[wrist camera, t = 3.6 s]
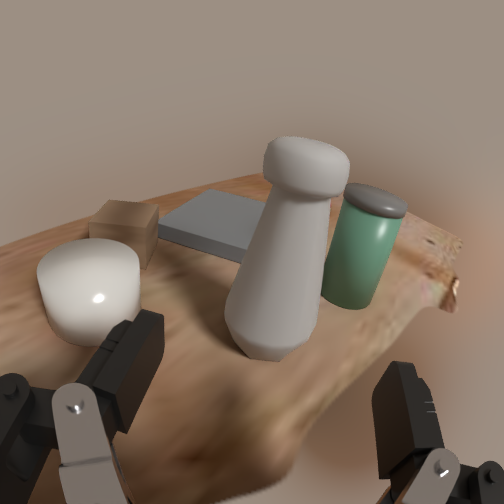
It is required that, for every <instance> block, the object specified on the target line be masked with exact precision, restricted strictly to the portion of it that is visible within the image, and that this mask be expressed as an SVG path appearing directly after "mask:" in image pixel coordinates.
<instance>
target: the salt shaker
mask: <svg viewBox="0 0 504 504" xmlns="http://www.w3.org/2000/svg"><path fill="white" fill-rule="evenodd" d="M349 167H350V162H349V160H348V158H347V156H346V155H345V154H344V153H343V152H342V151H341V150H339V149H338V148H336V147H334V146H332V145H329V144H326V143H323V142H320V141H316V140H312V139H307V138H302V137H293V136H289V137H279V138H276V139H274V140H273V141H271V142H270V143H269V144H268V146H267V149H266V152H265V155H264V162H263V174H264V179H266V180H267V181H268V182H270V183H271V184H273V186H272V189H271V191H270V194H269V196H268V199H267V202H266V204H265V207H264V210H263V212H262V215H261V217H260V219H259V222H258V224H257V227H256V229H255V231H254V234H253V236H252V239H251V241H250V244H249V246H248V248H247V251H246V253H245V256H244V258H243V260H242V263H241V265H240V268H239V270H238V273H237V275H236V277H235V280H234V282H233V285H232V287H231V290H230V292H229V294H228V297H227V299H226V305H225V311H224V316H225V321H226V324H227V326H228V329H229V331H230V333H231V336H232V338H233V341H234V342H235V343H236V344H237V345H238V346H239V347H240V348H241V349H242V350H243V351H244V353H245V354H246V355H247V356H248V357H249V358H250V359H256V360H265V361H275V362H279V361H281V360H282V359H283V358H284V357H285V356H286V355H287V354H289V353H290V352H292V351H293V350H295V349H296V348H298V347H299V346H301V345H302V344H304V343H305V342H307V340H308V338H309V337H310V335H311V333H312V331H313V329H314V327H315V325H316V322H317V316H318V309H319V302H320V294H321V287H322V279H323V271H324V262H325V254H326V244H327V235H328V225H329V214H330V203H331V197H338V196H339V195H340V194H341V193H342V191H343V190H344V188H345V186H346V183H347V180H348V176H349Z"/></svg>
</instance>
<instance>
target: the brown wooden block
mask: <svg viewBox="0 0 504 504" xmlns="http://www.w3.org/2000/svg"><path fill="white" fill-rule="evenodd" d="M158 216H159V205H157V204H147V203H137V202H127V201H116V200H108V201H107V202H106V203H105V204H104V205H103V207H102V208H101V209H100V210H99V211H98V212H97V213H96V214H95V215H94V216H93V217H92V218H91V219H90V220H89V236H90V238H101V239H109V240H114V241H117V242H120V243H123V244H125V245H127V246H129V247H130V248H131V249H132V250H133V251H135V253H136V254H137V256H138V258H139V267H140V269H145V270H146V268H147V266H148V263H149V261H150V259H151V256H152V254H153V252H154V249H155V247H156V245H157V242H158Z"/></svg>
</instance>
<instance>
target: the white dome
mask: <svg viewBox="0 0 504 504" xmlns="http://www.w3.org/2000/svg"><path fill="white" fill-rule="evenodd" d="M37 277H38V282H39V286H40V290H41V294H42V298H43V302H44V306H45V310H46V313H47V317H48V320H49V324H50V326H51V328H52V330H53V331H54V333H55V334H56V335H57V336H58V337H60V338H61V339H63V340H64V341H66V342H69V343H71V344H74V345H78V346H87V347H93V346H100V345H101V344H102V342H103V341H104V340H105V339H106V337H107V335H108V334H109V332H110V331H111V329H112V328H113V327H114V326H116V325H117V324H119V323H120V322H122V321H123V320H125V319H126V320H129V321H132V322H133V321H134V319H135V318H136V316H137V315H138V313H139V312H140V310H141V294H140V267H139V258H138V256H137V254H136V253H135V251H133V250H132V249H131V248H130V247H129V246H127V245H125V244H123V243H120V242H117V241H114V240H109V239H101V238H88V239H80V240H75V241H71V242H67V243H65V244H62V245H60V246H58V247H56V248H54V249H52V250H51V251H49V252H48V253H47V254H46V255H45V256H44V257H43V258H42V259H41V261H40V262H39V264H38V267H37Z"/></svg>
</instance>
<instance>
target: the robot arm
mask: <svg viewBox="0 0 504 504" xmlns="http://www.w3.org/2000/svg"><path fill="white" fill-rule="evenodd" d="M164 347H165V342H164V316H163V315H162V314H159V313H155V312H152V311H148V310H144V309H142V310H140V312H139V313H138V315H137V316H136V318H135V319H134V321H133V322H132V321H129V320H126V319H125V320H123V321H122V322H120V323H119V324H117V325H116V326H114V327H113V328H112V329H111V331H110V332H109V334H108V335H107V337H106V339H105V340H104V341H103V342H102V344H101V345H100V348H98V350H97V351H96V352H95V354H94V355H93V357H92V358H91V360H90V361H89V363H88V364H87V366H86V367H85V369H84V370H83V372H82V373H81V375H80V376H79V378H78V379H77V380H76V382H74V383H69V384H66V385H63V386H61V387H60V388H59V389H57V390H49V389H42V388H36V387H30V385H29V383H28V381H27V380H26V379H25V378H24V377H23V376H21V375H19V374H16V373H9V374H5V375H3V376H1V377H0V504H27V503H28V500H29V498H30V495H31V493H32V491H33V488H34V486H35V484H36V481H37V479H38V477H39V475H40V472H41V470H42V468H43V466H44V464H45V461H46V459H47V457H48V455H49V453H50V451H51V449H52V448H53V449H59V451H60V456H61V465H60V466H59V476H60V480H61V484H62V488H63V492H64V496H65V499H66V503H67V504H136V503H135V500H134V498H133V496H132V494H131V492H130V489H129V487H128V484H127V482H126V479H125V476H124V474H123V471H122V468H121V465H120V462H119V459H118V456H117V453H116V450H115V447H114V444H113V441H112V440H113V438H114V436H115V434H116V432H117V431H120V432H122V433H125V434H127V433H128V430H129V428H130V426H131V424H132V422H133V420H134V417H135V415H136V413H137V411H138V409H139V407H140V405H141V402H142V400H143V398H144V396H145V394H146V392H147V390H148V388H149V386H150V383H151V381H152V379H153V377H154V375H155V373H156V371H157V369H158V367H159V365H160V363H161V360H162V357H163V353H164ZM372 410H373V418H374V427H375V437H376V447H377V458H378V471H379V479H390V481H391V485H390V486H389V487H388V488H387V489H386V490H385V492H384V493H383V495H382V496H381V497H380V499H379V500H378V501H377V503H376V504H504V470H503V469H502V467H501V466H500V465H499V464H498V463H496V462H494V461H487V462H485V463H483V464H482V465H481V466H479V468H475V467H470V466H466V465H463V464H460V463H459V460H458V458H457V457H456V455H455V454H454V453H453V452H451V451H450V450H447V449H445V447H444V443H443V439H442V435H441V430H440V426H439V422H438V418H437V414H436V413H435V407H434V404H433V399H432V396H431V392H430V389H429V388H428V386H427V385H426V383H425V382H424V380H423V379H422V378H418V376H417V373H416V369H415V366H414V365H413V363H407V362H399V361H392V362H391V363H390V365H389V366H388V368H387V370H386V371H385V373H384V374H383V376H382V377H381V379H380V380H379V382H378V384H377V385H376V387H375V389H374V391H373V395H372Z"/></svg>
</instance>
